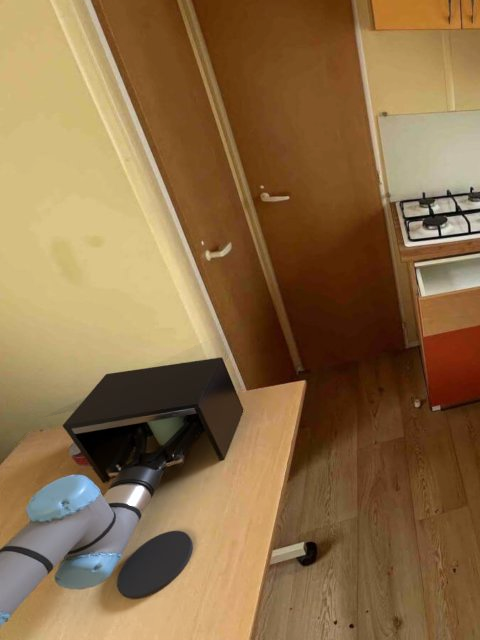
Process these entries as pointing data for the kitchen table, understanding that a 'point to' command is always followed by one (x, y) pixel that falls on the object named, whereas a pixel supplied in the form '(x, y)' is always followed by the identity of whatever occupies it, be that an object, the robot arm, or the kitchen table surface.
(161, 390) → the dark wooden monitor stand
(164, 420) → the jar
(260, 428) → the kitchen table surface
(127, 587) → the trivet
